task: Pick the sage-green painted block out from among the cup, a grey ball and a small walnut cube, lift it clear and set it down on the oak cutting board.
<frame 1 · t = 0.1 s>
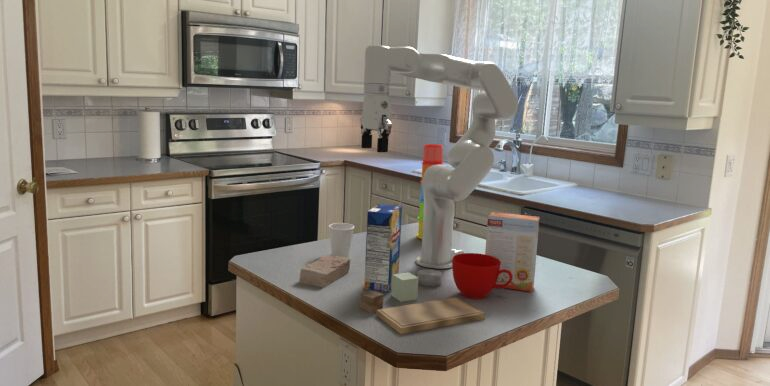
hand: (374, 150, 177), 37 cm above the counter, fingers open, 9 cm apart
cracker box: (508, 286, 176), on the counter
ceramic cup: (480, 297, 167), on the counter
cutting board: (430, 317, 150), on the counter
sage block: (404, 297, 163), on the counter
beverage box: (381, 285, 172), on the counter
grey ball: (429, 283, 176), on the counter
brick: (325, 278, 177), on the counter
dixie cup: (340, 256, 198), on the counter
walnut block: (371, 309, 154), on the counter
stacking cups: (430, 238, 227), on the counter
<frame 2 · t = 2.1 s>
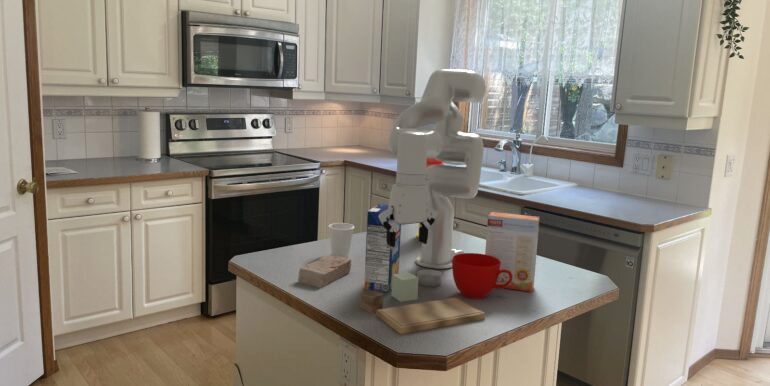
hand: (407, 244, 160), 15 cm above the counter, fingers open, 9 cm apart
nothing on the counter moved.
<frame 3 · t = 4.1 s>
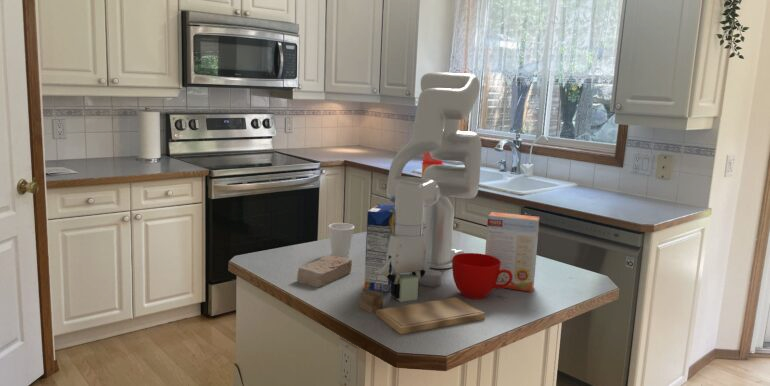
hand: (404, 294, 163), 1 cm above the counter, fingers closed on sage block, 5 cm apart
sage block: (404, 297, 163), on the counter, touching gripper
everything else where it was.
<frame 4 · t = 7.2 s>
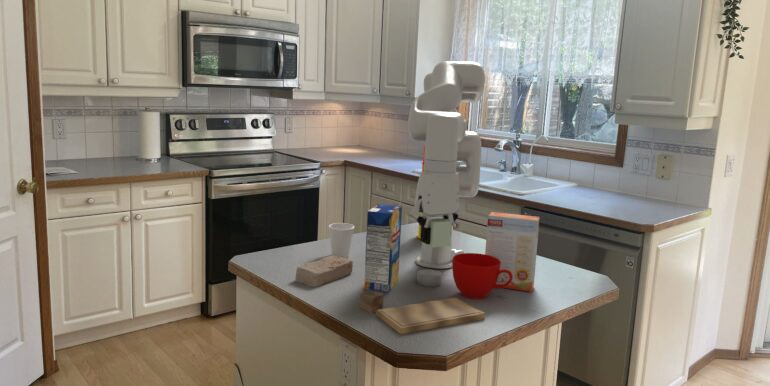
hand: (435, 241, 147), 19 cm above the counter, fingers closed on sage block, 5 cm apart
sage block: (435, 243, 147), point 19 cm above the counter, touching gripper
everything else where it was.
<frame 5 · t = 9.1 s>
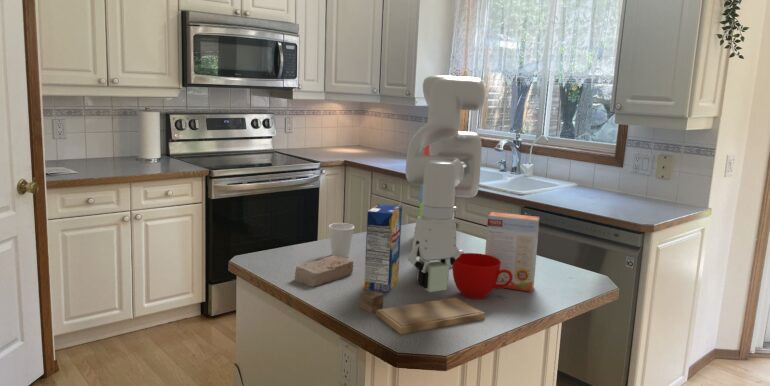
hand: (432, 284, 149), 8 cm above the counter, fingers closed on sage block, 5 cm apart
sage block: (432, 287, 149), point 8 cm above the counter, touching gripper
when the fingers open (3 cm above the counter, at t = 10.5 s): sage block stays where it is, resting on cutting board.
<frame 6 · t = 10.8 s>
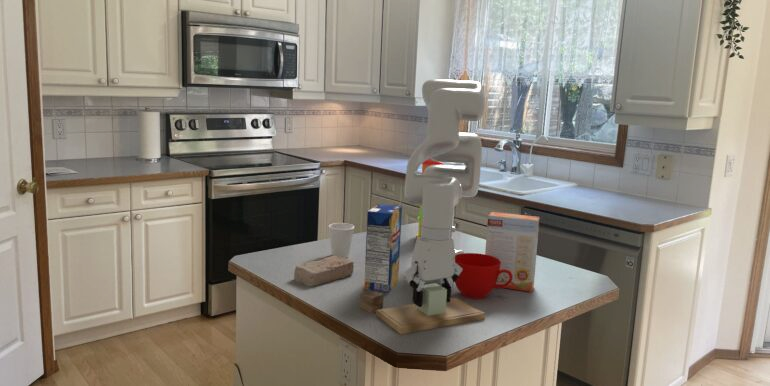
hand: (431, 302, 150), 4 cm above the counter, fingers open, 7 cm apart
sage block: (431, 310, 150), point 2 cm above the counter, touching cutting board
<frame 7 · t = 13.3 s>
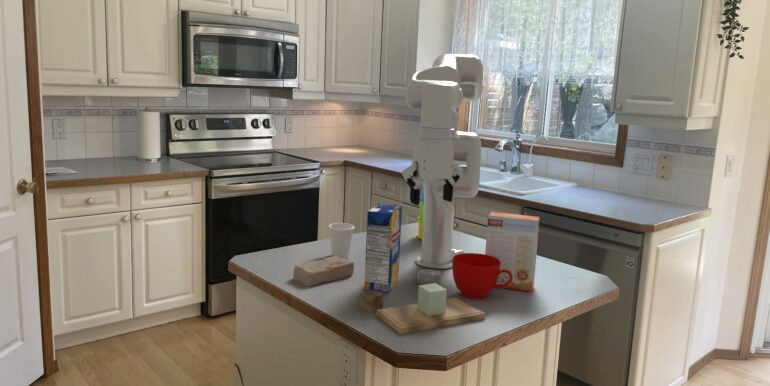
hand: (431, 202, 153), 27 cm above the counter, fingers open, 9 cm apart
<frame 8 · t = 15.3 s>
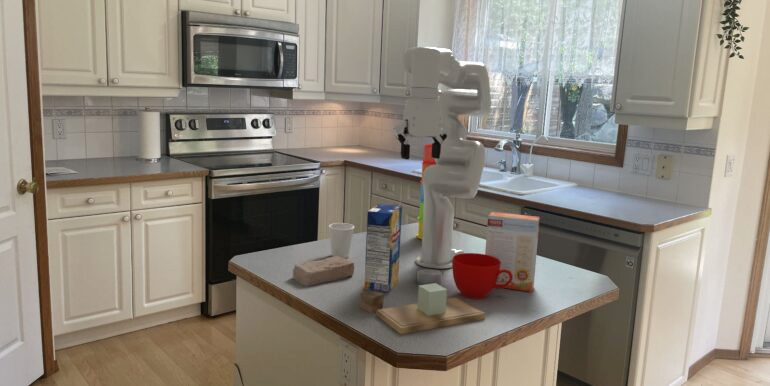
hand: (420, 158, 166), 36 cm above the counter, fingers open, 9 cm apart
at the end: sage block inside the target area on the cutting board (0.1 cm from its centre), point 1.6 cm above the cutting board's base; sage block tilted 0°; the gripper is holding nothing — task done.
